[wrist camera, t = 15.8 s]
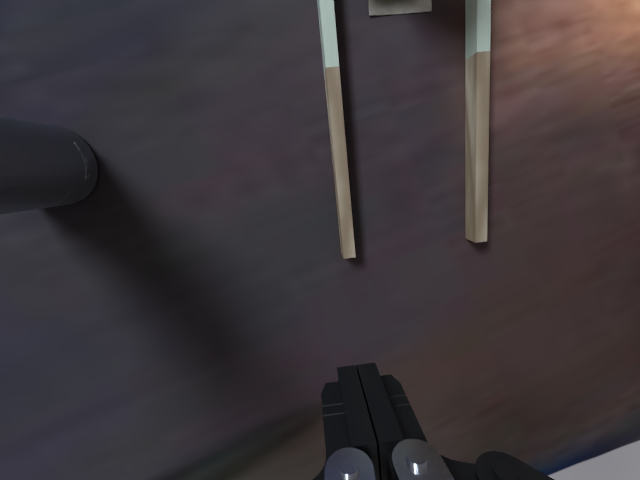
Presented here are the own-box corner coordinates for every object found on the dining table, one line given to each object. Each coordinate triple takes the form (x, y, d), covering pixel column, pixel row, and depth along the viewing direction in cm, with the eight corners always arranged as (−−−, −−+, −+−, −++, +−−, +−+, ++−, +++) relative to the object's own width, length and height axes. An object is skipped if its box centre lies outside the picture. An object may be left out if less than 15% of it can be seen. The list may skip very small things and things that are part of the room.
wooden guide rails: (341, 253, 41) (343, 258, 39) (324, 74, 36) (325, 67, 34) (476, 237, 42) (487, 241, 39) (477, 58, 37) (490, 50, 34)
